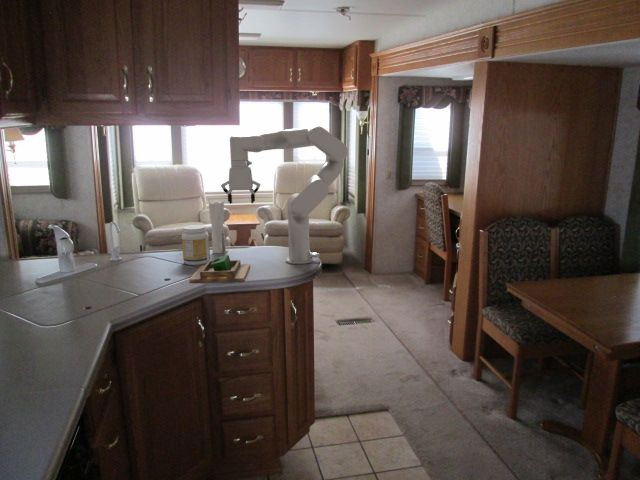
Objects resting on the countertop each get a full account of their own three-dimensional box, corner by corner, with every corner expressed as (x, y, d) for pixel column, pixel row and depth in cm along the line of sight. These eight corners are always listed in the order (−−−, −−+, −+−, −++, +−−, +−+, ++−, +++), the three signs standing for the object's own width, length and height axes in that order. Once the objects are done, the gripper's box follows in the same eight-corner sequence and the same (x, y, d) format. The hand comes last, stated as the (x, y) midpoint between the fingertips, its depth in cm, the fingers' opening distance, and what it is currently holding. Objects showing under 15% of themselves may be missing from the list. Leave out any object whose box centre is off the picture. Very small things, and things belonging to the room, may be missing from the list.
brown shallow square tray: (250, 266, 221) (249, 258, 221) (244, 281, 200) (243, 272, 199) (201, 267, 221) (200, 259, 220) (189, 282, 199) (188, 273, 199)
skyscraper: (208, 254, 246) (205, 199, 240) (213, 251, 254) (209, 197, 248) (225, 254, 245) (222, 198, 239) (229, 251, 253) (226, 196, 247)
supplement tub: (190, 258, 238) (188, 224, 234) (214, 259, 235) (212, 224, 232) (178, 265, 226) (176, 229, 222) (203, 266, 224) (201, 229, 220)
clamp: (220, 278, 215) (216, 258, 216) (233, 275, 214) (229, 255, 216) (212, 275, 203) (208, 254, 205) (226, 272, 203) (221, 250, 204)
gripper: (260, 163, 219) (261, 201, 223) (221, 164, 219) (223, 202, 223) (258, 164, 212) (260, 204, 216) (218, 165, 212) (220, 204, 215)
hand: (241, 203), depth 219 cm, fingers open, 9 cm apart
